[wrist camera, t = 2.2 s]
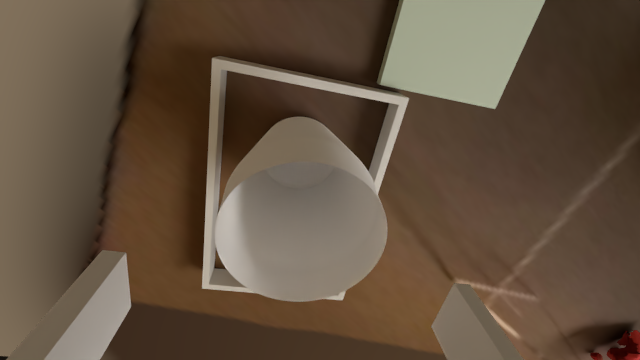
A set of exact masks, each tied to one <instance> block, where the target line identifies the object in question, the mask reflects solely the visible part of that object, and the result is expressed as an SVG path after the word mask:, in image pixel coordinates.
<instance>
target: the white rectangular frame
mask: <svg viewBox="0 0 640 360" xmlns="http://www.w3.org/2000/svg"><path fill="white" fill-rule="evenodd" d="M227 71H232V72H237V73H242V74H247V75H252V76H257V77H262V78H267V79H272V80H277V81H282V82H287V83H292V84H297V85H302V86H307V87H312V88H317V89H322V90H327V91H332V92H337V93H342V94H347V95H352V96H357V97H362V98H367V99H372V100H377V101H382V102H387V103H389V106H388V109H387V112H386V116H385V119H384V122H383V125H382V129H381V132H380V135H379V139H378V142H377V145H376V149H375V152H374V155H373V159H372V162H371V165H370V168H369V173H370V175H371V177H372V179H373V182H374V185H375V188H376V192H377V194H378V191H379V188H380V185H381V182H382V179H383V176H384V173H385V170H386V167H387V164H388V161H389V158H390V155H391V152H392V149H393V146H394V143H395V140H396V137H397V134H398V131H399V128H400V125H401V122H402V118H403V115H404V112H405V109H406V106H407V103H408V100H409V98H407V97H406V96H404V95H402V94H400V93H397V92H392V91H387V90H382V89H378V88H373V87H368V86H363V85H358V84H353V83H349V82H344V81H339V80H334V79H329V78H324V77H320V76H315V75H310V74H305V73H300V72H295V71H291V70H286V69H281V68H276V67H271V66H266V65H262V64H257V63H252V62H247V61H242V60H237V59H233V58H228V57H223V56H217V57H214V58H212V71H211V94H210V117H209V141H208V164H207V187H206V211H205V234H204V257H203V281H202V288H203V289H215V290H227V291H238V292H250V293H256V292H254V291H252V290H250V289H249V288H247V287H245V286H244V285H242V284H241V283H240V282H239V281H237V280H236V279H235V278H234V277H233V276H232V275H231V274H230V273H229V271H228V270H227V269H217V268H214V265H215V250H216V244H215V224H216V220H217V216H218V203H219V188H220V172H221V157H222V141H223V126H224V110H225V95H226V79H227ZM345 292H346V290H345V291H343V292H341V293H339V294H336V295H334V296H331V297H327V298H324V299H333V300H343V298H344V295H345Z"/></svg>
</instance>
